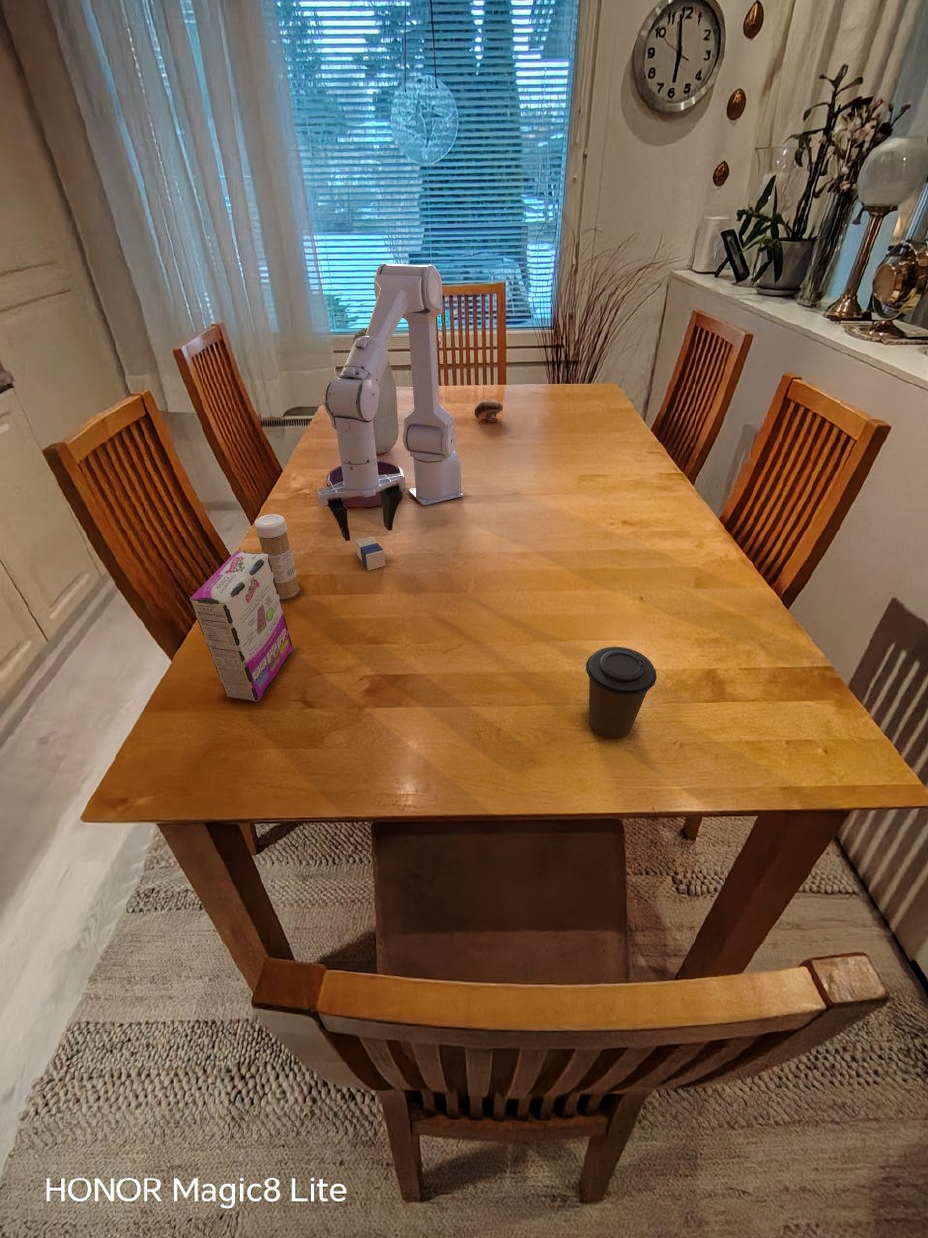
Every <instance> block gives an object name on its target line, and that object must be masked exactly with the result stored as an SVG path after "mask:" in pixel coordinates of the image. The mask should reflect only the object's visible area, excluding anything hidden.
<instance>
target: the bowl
mask: <svg viewBox="0 0 928 1238" xmlns="http://www.w3.org/2000/svg"><path fill="white" fill-rule="evenodd" d="M377 467H378V475H390V474H398V473H401V474H402V475H403V476H404V471H403V469H402V468H401V467H400V466H399V465H396V464H394V463H391V462H388V461H383V460H377ZM325 480H326V481H325V482H326V488H327V487H330V486H332V485H335V484H338V483H340V482H343V481H344V480H343V473H342V466H341V465H338V466H337V467H335V468H333V469H332V470H329V472H328V473H327V475H326V479H325ZM399 490H400V491H401V492H402V494H403V493H404V492H405V488H401V489H400V488H399ZM342 501H343V502H344V506H345V507H350V508H351V507H353V508H369V507H371V508H372V507H376V506H382V501H381V496H380V492H376V495H374V496H370V497H363V496H356V497H352V498H347V499H343V500H342Z"/></svg>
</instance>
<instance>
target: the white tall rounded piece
mask: <svg viewBox="0 0 928 1238" xmlns="http://www.w3.org/2000/svg"><path fill="white" fill-rule="evenodd" d="M367 328H368V327H364V328H360V329H359V330H358V331H356V332H355V334H354V336H353V339H352V345H353V344H354V342H355V340H356V339H357V338H359V337H362V336H365V335H366V331H367ZM386 348H387V349H388V346H387V347H386ZM379 388H380V393H379V401H378V410H377V413H376V414H375V416H374V418H373V427H374V437H375V447H376V455H382V454H385V453H387V452H389V451H391V450H392V449H394V447H395V446H396V444H397V442H398V438H399V432H400V431H399V428H400V427H399V417H398V416H399V415H398V395H397V394H398V392H397V384H396V380H395V376H394V373H393V369H392V366H391V363H390V360H389V361H388V363H387V366H386V368H385V371H384V373H383V375H382V378H381V380H380V383H379Z"/></svg>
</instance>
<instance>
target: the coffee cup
mask: <svg viewBox="0 0 928 1238" xmlns="http://www.w3.org/2000/svg"><path fill="white" fill-rule="evenodd" d="M585 672H586V674H587V676H588V678H589V679H588V681H589V682H588V683H589V684H588V685H589V686H588V724H589V726H590V728H591V729H592V731H594V733H596V734H597V735H599V736H600V737H603V738H605V739H612V740H617V739H622V738H625V737H627V736H628V735H629V734H630V733H631V731H632V729H633V726H634V724H635V721H636V719H637V717H638V714H639V712H640V709H641V707H642V705H643V703H644V701H645V699H646V698H645V697H647V696H646V695H647V693H648V691H650V689H652V687H654V686H655V685H656V681H657V679H658V677H657V671H656V669H655V667H654V664H653V663H652V661H651V660H650V659H649V658H648V657H646V655H644V654H642V653H641V652H639V651H636V650H635V649H632V648H628V647H623V646H607V647H603V648H600V649H598V650H596V651H595V652H593V654H591V655H590V656H589V657H588V659H587V661H586V663H585Z"/></svg>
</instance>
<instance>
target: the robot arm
mask: <svg viewBox="0 0 928 1238" xmlns="http://www.w3.org/2000/svg"><path fill="white" fill-rule="evenodd" d="M373 285H374V286H373V290H374V296H375V303H374V307H373V310H372V313H371V315H370V319H369V322H368V326H367V327H366V328H367V331H366V335H365V336H362V337H359V338H357V339H356V340H355V342H354V344H353V343H352V346H351V349H350V351H349V354H348V355H347V358H346V361H345V363H344V365H343V367H342V370H341V372H340V374H339V377H335V378H334V379H333V380H331V381H329V382H328V383H327V386H326V387H325V388H326V389H325V392H324V393H325V394H324V401H323V405H324V410H325V411H326V413H327V415H328V416H329V418H330V422H331V427H332V428H333V430H335V431H336V437H337V444H338V451H339V459H340V466H342V473H343V480H344V481H343V482H340V483H338V484H335V485H332V486H330V487H327V486H326V487H324V488H322V489H321V488H320V489H317V490H316V493H317V494H316V495H317V499H318V502H319V504H320V505H321V507H322V506H327V507H328V509H329V510H330V512H331V513H332V515H333V517H334V519H335V520H336V522H337V524H338V527H339V530H340V532H341V535H342V538H343V539H344V540H345V542H350V541H351V534H350V529H349V523H348V508H347V506H346V505H344V502H343V501H342V500H343V499H347V498H352V497H356V496H363V497H370V496H374V495H376V492H380V496H381V501H382V504H381V507H382V520H383V525H384V528H385V529H386V530H387V531H388V532H391V531H393V525H394V524H393V523H394V521H395V515H396V512H397V509H398V507H399V505H400V503H401V501H402V499H403V493H402V492H401V491H400V490H399V488H400V489H401V488H404V489H405V488H406V477H405V476H404V474H403V475H402V474H401V473H398V474H390V475H378V467H377V461H378V457H377V454H376V447H375V437H374V427H373V418H374V416H375V414H376V413H377V410H378V401H379V393H380V388H379V383H380V380H381V378H382V375H383V373H384V371H385V368H386V366H387V363H388V361H389V362H390V353H389V350H388V344H389V343H390V341H391V339H392V337H393V335H394V334H395V332H396V330H397V328H398V325H400V322H401V321H402V319H404V320H405V321H406V322H407V327H408V340H409V341H408V343H409V354H410V367H411V381H412V383H411V384H412V396H413V397H412V398H413V409H411V410H410V411H409V412H407V414H406V415H405V416H404V419H403V432H402V443H403V446H404V448H405V450H406V451H407V452H408V453H409V456H410V458H412V459H413V474H414V475H413V476H414V488H409V489H408V492H409V493H410V495H411V496H412V497H413V498H415V499H416V501H418V503H420V504H421V505H422V506H428V505H432V504H437V503H440V502H441V503H442V502H444V501H445V502H446V501H449V500H453V499H457V498H462V497H464V493H462V464H461V460H460V456H459V455H458V453H457V452H456V451H455V450H456V447H457V441H458V433H457V430H456V426H455V419H454V416H453V414H451V413H450V412H449V411H448V410H447V409H445V408H444V407H443V406H442V405H441V404H440V385H439V366H438V365H439V364H438V363H439V362H438V342H437V341H438V339H437V319H436V318H437V317H438V316H440V315H443V306H444V303H443V280H442V276H441V273H439V271H438V269H437V268H436V266H435V265H433V264H428V265H417V264H416V265H415V264H389V263H386V262H383V263H381V264H379V266H378V267H377V269H376V272H375V275H374V279H373ZM386 347H387V348H386Z"/></svg>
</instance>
